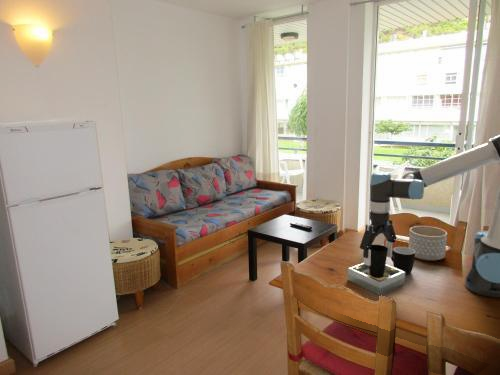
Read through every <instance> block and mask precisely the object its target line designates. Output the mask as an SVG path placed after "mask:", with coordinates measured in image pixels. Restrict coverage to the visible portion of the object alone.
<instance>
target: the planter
mask: <svg viewBox="0 0 500 375" xmlns="http://www.w3.org/2000/svg"><path fill="white" fill-rule="evenodd" d="M408 235H409V236H408V247H407V248H411V249H413V250H414V251H415V258H416V259H418V260H422V261H425V262H426V261H427V262H429V261H430V262H434V261H435V262H436V261H439V260H442V259H444V258H446V251H447V240H448V239H447V238H448V232H447V231H446V230H444V229H443V228H440V227H436V226H430V225H429V226H428V225H415V226H412V227H410V228H409V232H408Z"/></svg>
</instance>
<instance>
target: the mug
mask: <svg viewBox="0 0 500 375" xmlns="http://www.w3.org/2000/svg"><path fill="white" fill-rule="evenodd" d="M415 258H416V257H415V251H414V250H413V249H411V248H408V247H407V246H396V247H394V248H392V257H391V258H390V260H391V261H392V264H393V267H394V268H397V269H399V270H402V271H405V276H407V275H410V274H411V273H412V271H413V268H414V264H415Z"/></svg>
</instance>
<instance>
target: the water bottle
mask: <svg viewBox="0 0 500 375" xmlns="http://www.w3.org/2000/svg"><path fill="white" fill-rule="evenodd" d="M371 223H372V222H371V221H370V223H369V225H371ZM373 233H374V232H373ZM385 240H386V238H385V236H384V235H383V233H380V234H378V236H376V238H375V240H374V241H373V243H372V245H382V246H385V244H384V243H385V242H386V241H385Z"/></svg>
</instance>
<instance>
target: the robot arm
mask: <svg viewBox="0 0 500 375" xmlns="http://www.w3.org/2000/svg"><path fill="white" fill-rule="evenodd" d="M497 162H498V164H499V166H500V134H498V135H496V136H493V137H491V138H489V139H488V141H487V142H486V143H483V144H480V145H478V146H476V147H473V148H471V149H469V150H465V151H463V152H461V153H458V154H456V155H453V156H450V157H448V158H445V159H442V160H441V161H437V162H434V163H432V164H430V165H428V166H426V167H422V168H420V169H417V170H415V171H413V172H407V173H405V174H404V175H403V176H402V178H392V174H391V173H389V172H385V171H384V172H382V171H381V172H379V171H378V172H373V173H372V174H371V176H370V184H369V188H370V189H369V190H370V194H369V201H370V202H369V220H370V224H371V225H370V224H365V230H364V232H363V233H364V234H363V236H362V239H361V241H360V245H359V250H360V249H361V250H363V263H364V264H365V265H368V266H370V264H371V250H369V249H370V247H371V245H372V243H373V241H374V240H375V238H376V236H378V234H380V233H383V235H384V236H385V240H386V241H385V247H387V248H388V252H387V257H388V258H390V259H391V257H392V251H393V247H394V246H393V244H394V243H396V240H397V235H396V232H395V228H394V225H393V219H390V208H391V207H390V206H391V198H392V199H406V200H407V199H408V200H413V201H414V200H421V199H423V198H424V195H425V194H424V193H425V188H426V187H429V186H433V185H435V184H438V183H440V182H444V181H447V180H448V179H451V178H453V177H457V176H460V175H462V174H466V173H468V172H471V171H473V170H474V171H475V170H476V169H479V168H481V167H482V168H483V167H485V166H487V165H490V164H493V163H497ZM371 222H372V223H371ZM373 232H374V233H373ZM464 286H465V288H467V289H468V290H469V291H471V292H473V293H475V294H478V295H480V296H485V297H490V298H500V185H499V187H498V190H497V194H496V198H495V203H494V206H493V210H492V213H491V219H490V223H489V226H488V229H487V231H477V232H476V233H475V235H474V242H473V254H472V261H471V268H470V269H469V271H468V273H467V275H466V277H465V279H464Z"/></svg>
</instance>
